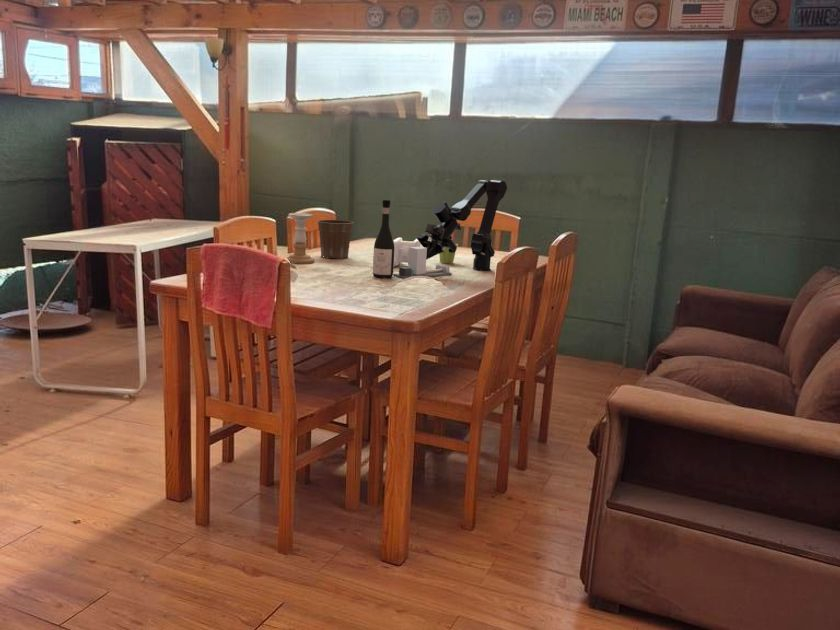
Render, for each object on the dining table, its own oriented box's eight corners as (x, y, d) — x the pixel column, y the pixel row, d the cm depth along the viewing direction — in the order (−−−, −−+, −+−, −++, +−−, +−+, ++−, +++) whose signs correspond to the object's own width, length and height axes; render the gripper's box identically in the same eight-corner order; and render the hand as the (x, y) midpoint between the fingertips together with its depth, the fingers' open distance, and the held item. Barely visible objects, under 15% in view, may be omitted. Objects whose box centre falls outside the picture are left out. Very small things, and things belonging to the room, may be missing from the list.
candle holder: (290, 258, 315) (291, 212, 311) (317, 260, 314) (319, 214, 309) (281, 262, 303) (282, 214, 299) (309, 264, 302) (310, 216, 297)
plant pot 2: (460, 263, 331) (461, 244, 329) (450, 265, 324) (451, 246, 322) (443, 260, 336) (444, 242, 334) (432, 262, 328) (433, 243, 326)
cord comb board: (438, 271, 304) (438, 262, 303) (451, 274, 298) (452, 265, 298) (393, 275, 287) (393, 266, 286) (406, 279, 282) (407, 269, 281)
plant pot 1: (308, 255, 326) (309, 219, 322) (334, 253, 338) (336, 218, 334) (333, 260, 316) (334, 224, 312) (359, 258, 328) (361, 222, 324)
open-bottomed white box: (416, 271, 294) (418, 246, 291) (425, 273, 290) (426, 248, 288) (407, 272, 290) (409, 247, 288) (416, 274, 287) (417, 249, 284)
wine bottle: (390, 279, 280) (394, 201, 273) (370, 277, 281) (373, 199, 274) (394, 276, 287) (398, 200, 281) (375, 274, 289) (379, 198, 282)
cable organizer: (414, 269, 307) (416, 242, 304) (390, 267, 308) (391, 240, 305) (419, 264, 321) (421, 238, 319) (396, 262, 323) (397, 236, 320)
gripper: (421, 214, 298) (400, 242, 293) (453, 219, 285) (431, 248, 280) (433, 232, 305) (413, 260, 300) (465, 238, 292) (445, 267, 287)
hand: (425, 258), depth 292 cm, fingers closed
